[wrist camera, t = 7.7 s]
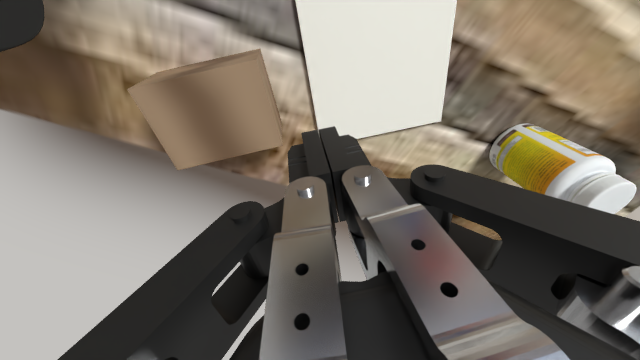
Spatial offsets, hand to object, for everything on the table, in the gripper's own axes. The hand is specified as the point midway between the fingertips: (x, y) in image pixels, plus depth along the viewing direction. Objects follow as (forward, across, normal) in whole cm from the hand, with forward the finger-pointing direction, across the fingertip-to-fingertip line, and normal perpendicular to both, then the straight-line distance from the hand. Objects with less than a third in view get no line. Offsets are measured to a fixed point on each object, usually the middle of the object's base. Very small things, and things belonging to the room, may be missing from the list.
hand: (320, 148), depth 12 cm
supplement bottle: (+12, -22, +11) cm, 27 cm away
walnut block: (+12, +6, 0) cm, 14 cm away
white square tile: (+12, -7, 0) cm, 14 cm away
